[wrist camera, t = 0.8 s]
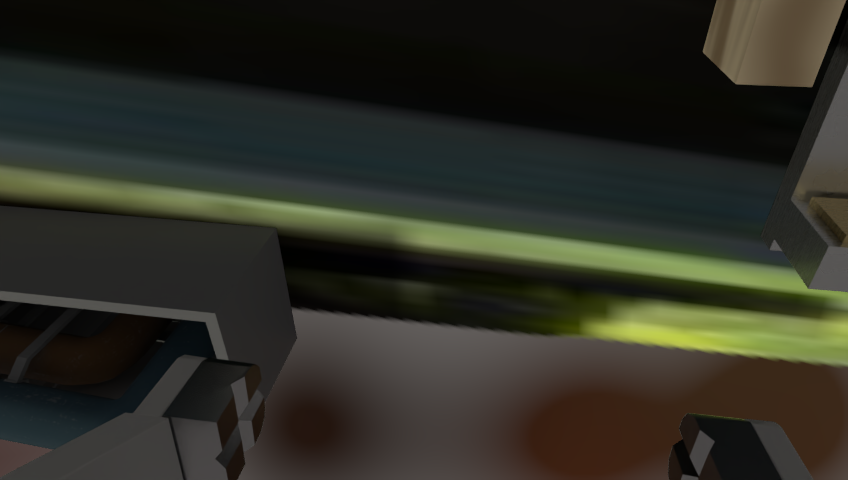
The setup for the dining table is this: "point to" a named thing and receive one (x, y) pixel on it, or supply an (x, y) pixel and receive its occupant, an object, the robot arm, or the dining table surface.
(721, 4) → the maple block
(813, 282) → the vise base
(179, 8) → the dining table surface
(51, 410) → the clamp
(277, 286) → the tool tote
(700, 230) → the dining table surface
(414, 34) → the dining table surface
